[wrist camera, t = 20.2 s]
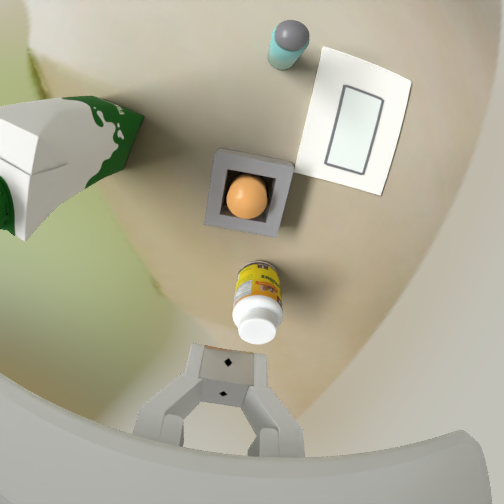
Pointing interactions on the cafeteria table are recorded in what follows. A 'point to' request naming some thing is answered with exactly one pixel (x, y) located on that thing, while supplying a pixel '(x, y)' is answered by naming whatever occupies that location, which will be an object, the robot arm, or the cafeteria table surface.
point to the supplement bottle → (257, 302)
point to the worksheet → (352, 122)
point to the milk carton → (57, 154)
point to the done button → (247, 196)
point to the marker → (287, 44)
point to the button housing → (254, 165)
